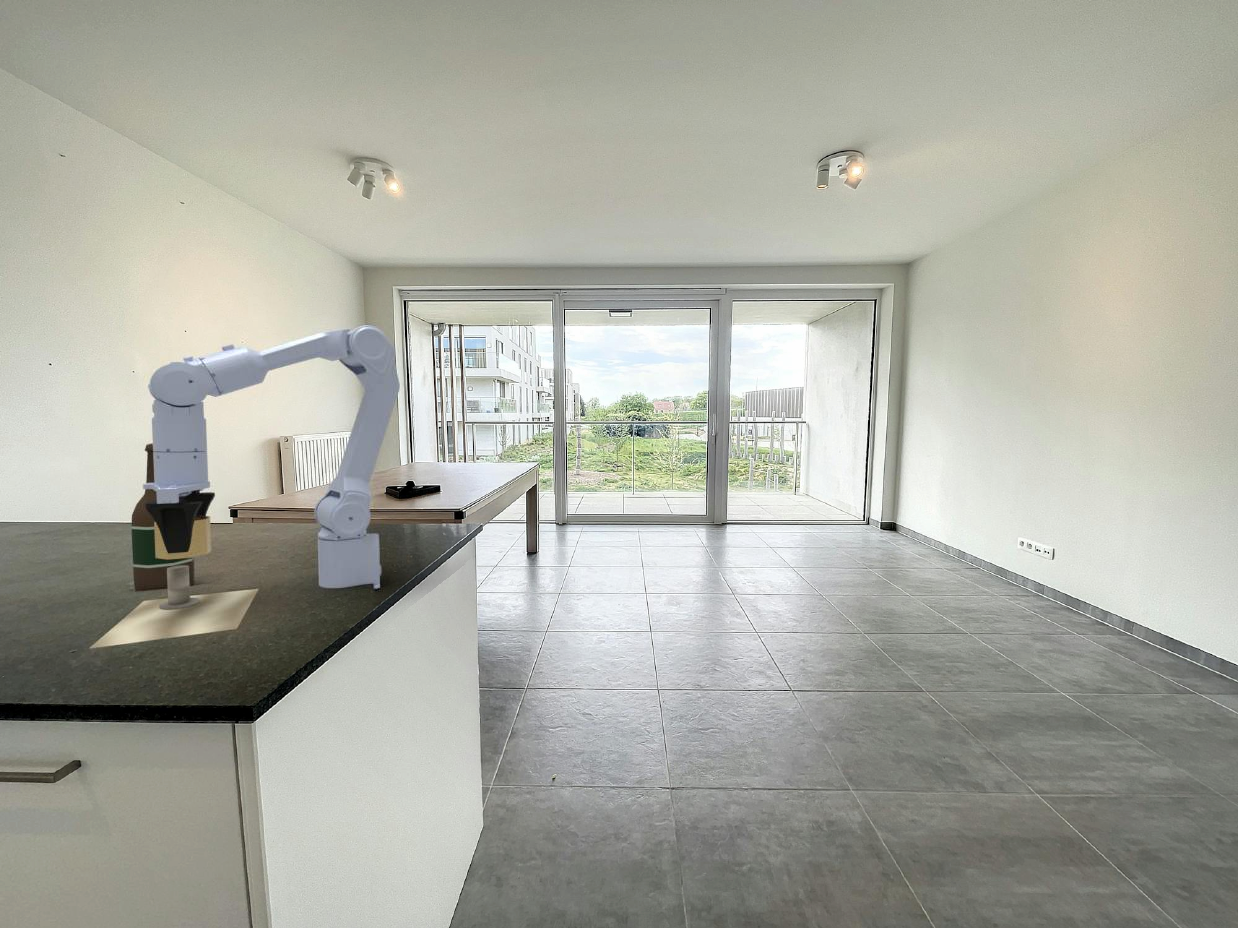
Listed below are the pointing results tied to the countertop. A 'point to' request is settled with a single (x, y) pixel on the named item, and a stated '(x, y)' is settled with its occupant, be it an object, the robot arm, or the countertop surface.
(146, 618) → the board
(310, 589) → the countertop surface
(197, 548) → the collar ring
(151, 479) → the beer bottle
